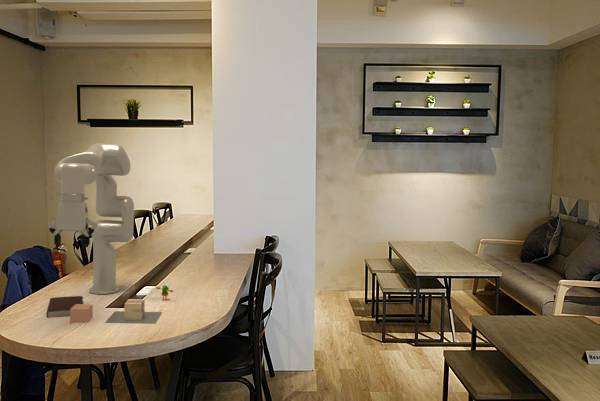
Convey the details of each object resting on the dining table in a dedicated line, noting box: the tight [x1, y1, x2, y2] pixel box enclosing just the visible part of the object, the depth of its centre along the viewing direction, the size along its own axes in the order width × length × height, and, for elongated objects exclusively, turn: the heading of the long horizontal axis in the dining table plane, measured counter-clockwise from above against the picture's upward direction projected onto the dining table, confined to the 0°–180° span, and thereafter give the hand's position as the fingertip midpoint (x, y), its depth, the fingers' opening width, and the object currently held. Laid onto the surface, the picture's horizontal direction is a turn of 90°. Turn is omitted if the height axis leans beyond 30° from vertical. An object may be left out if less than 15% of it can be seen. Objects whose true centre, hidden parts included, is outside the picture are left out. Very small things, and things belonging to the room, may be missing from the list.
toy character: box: [156, 285, 175, 300], centre depth 230 cm, size 11×12×7 cm
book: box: [46, 295, 84, 318], centre depth 211 cm, size 12×19×3 cm, turn 21°
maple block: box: [123, 298, 146, 320], centre depth 201 cm, size 6×6×6 cm
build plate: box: [104, 310, 163, 325], centre depth 201 cm, size 14×18×1 cm
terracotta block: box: [69, 303, 94, 326], centre depth 196 cm, size 6×6×6 cm
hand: (72, 246), depth 192 cm, fingers open, 9 cm apart
